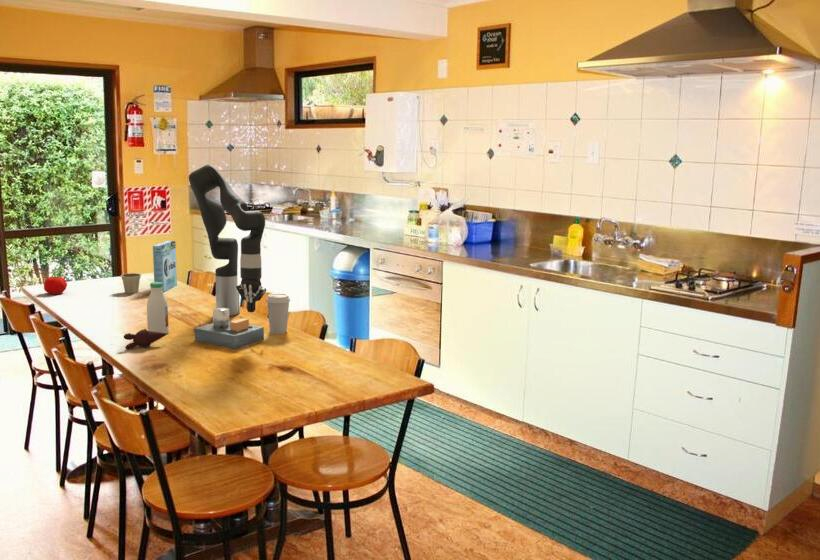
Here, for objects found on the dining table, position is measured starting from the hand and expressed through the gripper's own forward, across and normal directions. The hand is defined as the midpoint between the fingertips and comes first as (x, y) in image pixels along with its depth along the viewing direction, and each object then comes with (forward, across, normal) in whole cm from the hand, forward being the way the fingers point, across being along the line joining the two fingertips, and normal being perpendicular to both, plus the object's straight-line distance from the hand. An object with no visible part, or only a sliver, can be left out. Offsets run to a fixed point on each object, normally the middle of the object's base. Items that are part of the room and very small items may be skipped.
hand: (251, 311), depth 276 cm
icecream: (+13, -30, -23) cm, 40 cm away
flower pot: (+12, -109, +40) cm, 117 cm away
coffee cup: (+13, -4, +20) cm, 24 cm away
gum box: (+12, -103, +56) cm, 118 cm away
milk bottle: (+13, -41, -7) cm, 44 cm away
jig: (+13, -11, 0) cm, 17 cm away
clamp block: (+8, -6, 0) cm, 10 cm away
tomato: (+12, -135, +18) cm, 137 cm away
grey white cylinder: (+12, -15, 0) cm, 19 cm away
